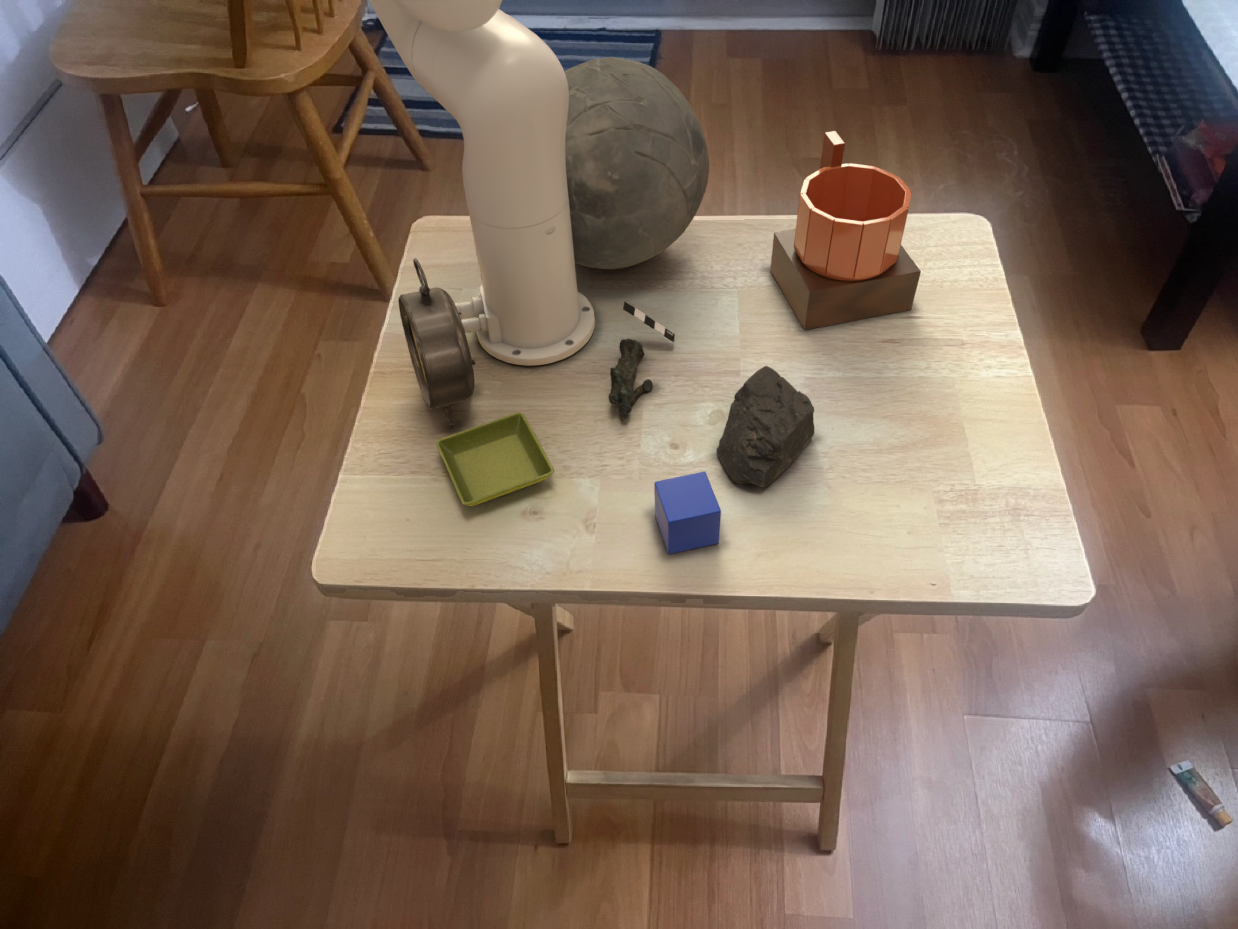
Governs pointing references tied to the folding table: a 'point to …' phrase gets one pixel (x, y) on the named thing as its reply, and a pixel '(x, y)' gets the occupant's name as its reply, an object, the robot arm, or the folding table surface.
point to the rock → (765, 428)
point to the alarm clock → (437, 346)
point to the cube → (687, 512)
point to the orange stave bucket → (850, 217)
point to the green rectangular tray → (494, 459)
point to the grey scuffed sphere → (630, 162)
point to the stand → (840, 288)
